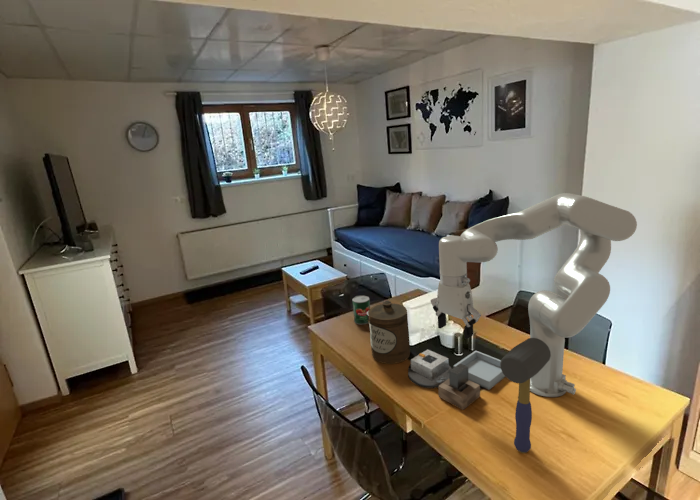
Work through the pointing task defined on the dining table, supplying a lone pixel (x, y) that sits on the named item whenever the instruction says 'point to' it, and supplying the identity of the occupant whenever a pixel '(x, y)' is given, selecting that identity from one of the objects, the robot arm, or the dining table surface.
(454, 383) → the gray rectangular block
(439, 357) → the collar
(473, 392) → the stand
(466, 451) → the dining table surface
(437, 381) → the dark gray round plate
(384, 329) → the wooden container
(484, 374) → the tray
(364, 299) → the canned tomato
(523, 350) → the rubber mallet
